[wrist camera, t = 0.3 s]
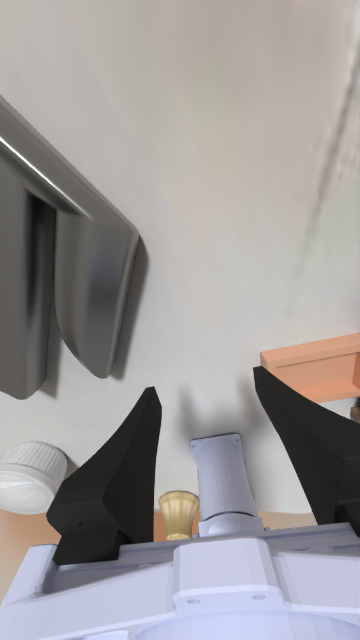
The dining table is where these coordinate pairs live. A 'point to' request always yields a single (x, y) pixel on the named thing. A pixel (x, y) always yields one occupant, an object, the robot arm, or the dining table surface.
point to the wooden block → (356, 413)
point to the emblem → (56, 260)
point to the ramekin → (31, 477)
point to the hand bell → (178, 513)
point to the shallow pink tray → (318, 368)
